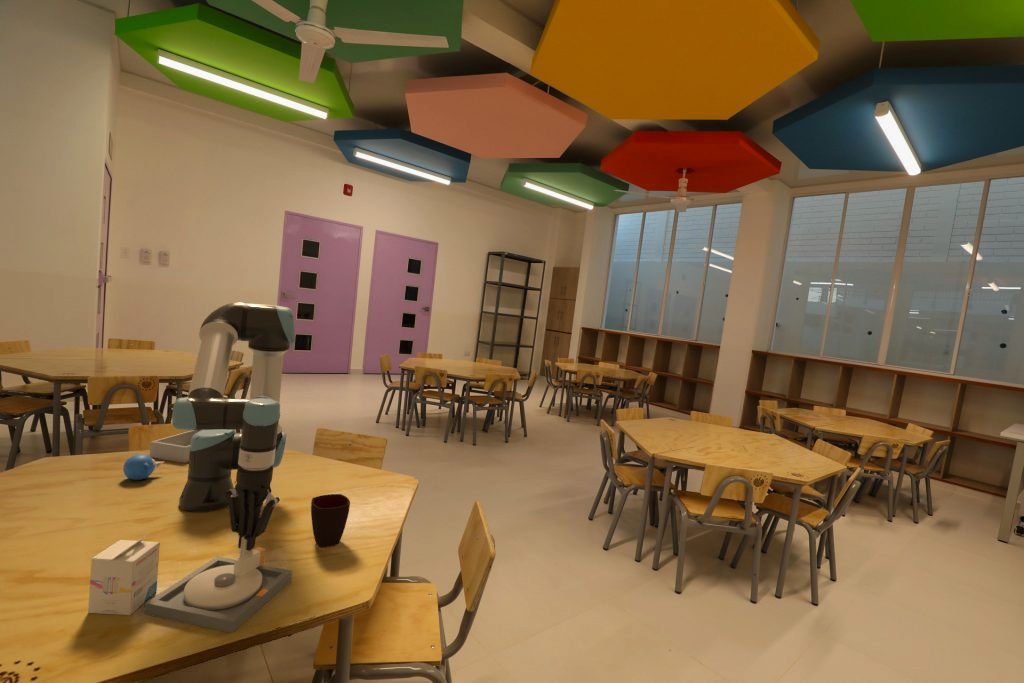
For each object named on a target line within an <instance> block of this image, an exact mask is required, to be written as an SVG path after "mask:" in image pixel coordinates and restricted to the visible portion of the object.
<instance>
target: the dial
mask: <svg viewBox="0 0 1024 683" xmlns="http://www.w3.org/2000/svg"><path fill="white" fill-rule="evenodd" d="M265 557H266V548H264V547H262V546H258V547H256V548H254V549H252V551H251V552H249V553H247V554H245V555H243V556H241V557H240V556H238V557H237V558H235V561H234V565H226V566H220V567H216V568H212V569H209V570H206V571H204V572H202V573H200V574H198V575H196V576H195V577H193V578H192V579H191V580H189V582H188V583H187V584H186V586H185V588H184V601H185V603H186V604H187V605H189V606H190V607H193V608H198V609H203V610H219V609H225V608H229V607H233V606H236V605H239V604H241V603H243V602H245V601H247V600H249V599H251V598H252V597H253V596H255V595H256V594H257V593H258V592H259V590H260V589H261V586H262V574H261V572H260V571H259V570H258V569H256V568H257V567H258V566H261V565H265V560H266V558H265Z"/></svg>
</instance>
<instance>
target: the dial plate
mask: <svg viewBox="0 0 1024 683" xmlns="http://www.w3.org/2000/svg"><path fill="white" fill-rule="evenodd" d="M235 559H236V558H235ZM235 559H234V558H229V557H226V556H225V557H224V556H219V555H218V556H215V557H213V558H212V559H211V560H209V561H208V562H206V563H205V564H202V566H200V567H198V568H197V569H196V570H194V571H192V572H191V573H189V574H187V575H185V576H184V577H183V578H181V579H180V580H178V581H177V582H175V583H174V584H172V585H170V586H169V587H167V588H165V590H163V591H162V592H161V591H160V592H159V593H158V594H156V595H155V596H153V597H152V598H149V599H148V600H146V601H145V602H144V612H143V613H144V615H147V616H151V617H158V618H162V619H165V620H171V621H175V622H180V623H183V624H189V625H194V626H196V627H197V626H198V627H203V628H208V629H212V630H217V631H222V632H226V633H231V634H233V633H234V632H235V631H237V629H238V628H240V627H241V626H242V625H243V624H244V623H245V622H246V621H247V620H248V619H250V618H251V617H252V616H253V615H254V614H255V613H256V612H257V611H258V610H260V609H261V608H262V607H263V606H264V605H265V604H267V602H269V600H271V599H272V598H273V597H274V596H275V595H277V593H279V592H280V591H281V590H282V589H283V588H284V587H286V586H287V585H288V584H289V583H290V582H291V581H292V576H293V575H292V574H293V570H290V569H285V568H280V567H275V566H271V565H270V566H269V565H265V564H263V565H261V566H258V567H257V568H256V569H258V570H259V571H260V572H261V574H262V586H261V589H260V590H259V592H258V593H257V594H256V595H255V596H253V597H252V598H251V599H249V600H247V601H245V602H243V603H241V604H239V605H236V606H233V607H229V608H225V609H219V610H203V609H198V608H193V607H190V606H189V605H187V604H186V603H185V601H184V588H185V586H186V584H187V583H188V582H189V580H191V579H192V578H193V577H195V576H196V575H198V574H200V573H202V572H204V571H206V570H209V569H212V568H216V567H220V566H226V565H234V561H235Z"/></svg>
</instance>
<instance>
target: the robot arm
mask: <svg viewBox="0 0 1024 683" xmlns="http://www.w3.org/2000/svg"><path fill="white" fill-rule="evenodd" d="M198 336H199V340H201V342H200V346H199V351H198V353H197V357H196V363H195V366H194V369H193V370H194V371H193V373H192V377H191V382H190V385H189V389H188V395H187V396H184V397H178V398H177V399H176V400H175V401H174V403H173V408H172V417H171V418H172V419H171V420H172V421H171V422H172V426H173V428H174V429H177V430H183V431H191V430H202V431H199V432H197V433H195V434H194V435H193V436H192V438H191V443H190V448H189V451H190V455H189V461H188V470H187V480H186V482H185V484H184V487H183V489H182V492H181V494H180V497H179V499H178V500H179V501H178V502H179V503H178V506H179V508H180V509H181V510H184V511H187V512H195V513H203V512H211V511H212V512H213V511H218V510H222V509H225V508H228V511H229V519H230V529H231V532H233V533H237V535H238V545H237V547H238V549H240V551H239V557H241V556H243V555H245V554H247V553H249V552H251V551H253V550H254V549H255V547H256V541H257V539H256V538H258V537H259V536H261V535H262V534H264V533H265V532H266V529H267V528H268V525H269V522H270V520H271V516H272V514H273V511H274V509H275V506H277V505H278V503H279V502H280V500H281V499H280V498H279V497H278V496H277V497H275V496H274V495H273V494H272V488H271V483H272V480H273V474H274V468H277V467H279V466H280V464H281V463H282V460H283V456H284V452H285V447H286V442H287V433H286V432H285V431H283V426H282V425H281V424H280V418H281V404H280V399H281V388H282V387H281V386H282V376H283V367H284V355H285V353H287V352H288V351H290V347H291V346H290V345H295V343H296V339H295V338H296V337H295V320H294V311H293V310H292V308H290V307H287V306H281V305H277V304H276V305H275V304H274V305H273V304H265V303H264V304H260V303H250V302H249V303H247V302H238V301H237V302H231V303H228V304H225V305H222V306H219V307H217V308H216V309H215V310H214V311H212V312H210V314H208V315H207V317H206V318H205V319H204V321H203V322H202V323H201V326H200V328H199V332H198ZM237 341H239V342H240V341H241V342H248V344H247V346H248V347H247V348H248V349H249V350H251V352H253V353H252V366H251V367H252V368H251V378H250V379H251V380H250V391H249V392H250V393H249V398H225V391H226V385H227V378H228V373H229V368H230V362H231V357H232V356H231V355H232V352H233V351H232V350H233V346H234V345H235V344H236V343H237ZM236 430H241V432H236ZM235 470H236V475H235V476H236V477H235V481H236V484H235V486H234V483H233V480H232V471H235ZM263 506H264V507H263ZM262 508H263V509H262Z"/></svg>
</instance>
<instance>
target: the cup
mask: <svg viewBox="0 0 1024 683" xmlns="http://www.w3.org/2000/svg"><path fill="white" fill-rule="evenodd" d="M310 504H311V506H310V515H311V516H310V517H311V525H312V527H311V528H312V534H313V538H314V541H315V544H316V545H317V546H318V548H329V547H330V548H331V547H335V546H337V545H339V543H340V542H341V539H342V537H343V534H344V531H345V528H346V525H347V522H348V517H349V512H350V507H351V506H350V505H351V501H350V499H349V498H348V497H347V496H345V494H342V493H332V494H323V495H318V496H315V497H313V498H311V503H310Z"/></svg>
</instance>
